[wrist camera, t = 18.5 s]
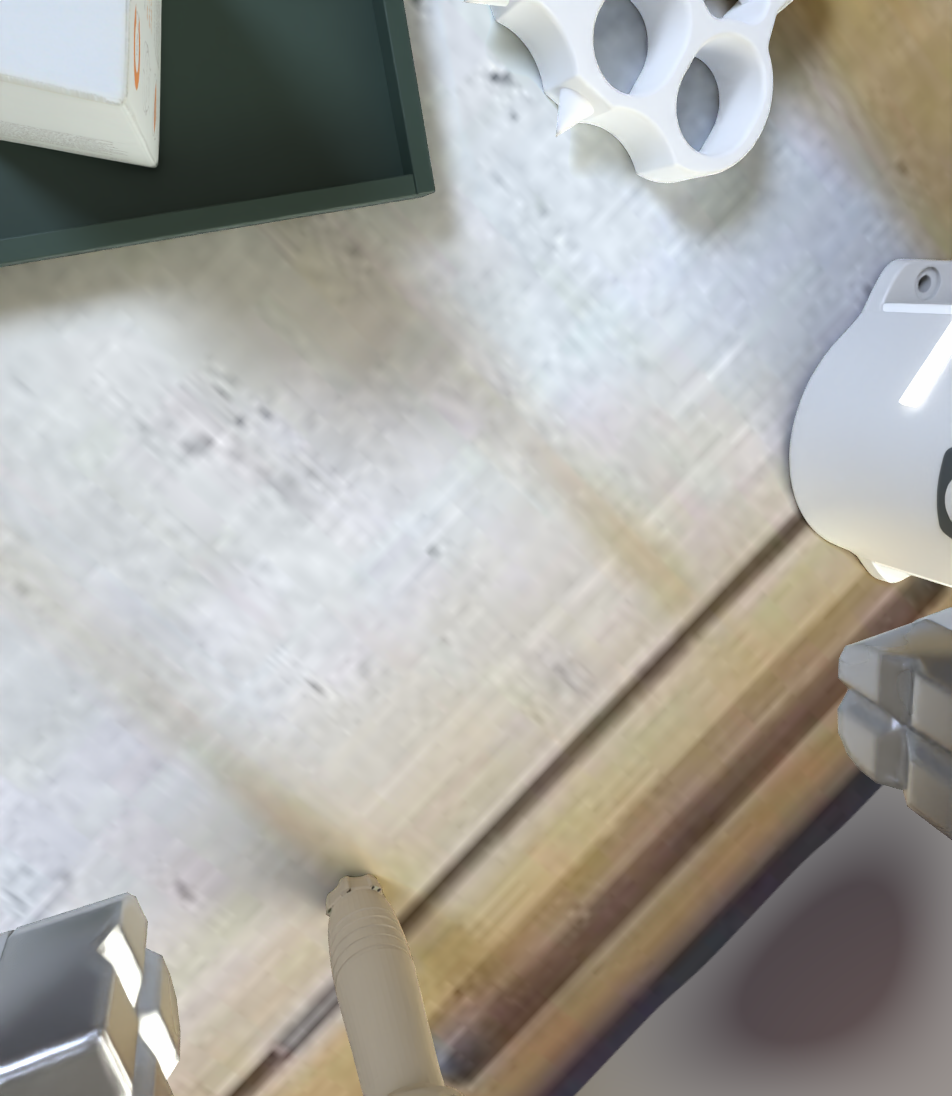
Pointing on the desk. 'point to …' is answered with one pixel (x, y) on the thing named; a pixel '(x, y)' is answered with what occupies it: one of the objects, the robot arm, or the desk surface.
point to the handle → (380, 994)
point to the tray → (239, 131)
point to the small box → (82, 77)
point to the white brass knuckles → (655, 76)
